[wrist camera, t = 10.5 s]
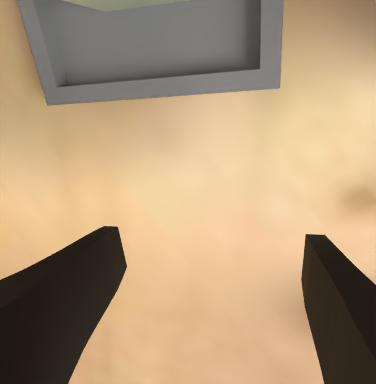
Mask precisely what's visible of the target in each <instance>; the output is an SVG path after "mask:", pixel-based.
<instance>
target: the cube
mask: <svg viewBox="0 0 376 384" xmlns="http://www.w3.org/2000/svg"><path fill="white" fill-rule="evenodd" d="M63 1H67V2H70V3H74V4H77V5H81V6H85V7H88V8H92V9H95V10H99V11H103V12H110V11H117V10H124V9H131V8H138V7H145V6H152V5H160V4H167V3H174V2H181V1H188V0H63Z"/></svg>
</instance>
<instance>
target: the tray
mask: <svg viewBox="0 0 376 384" xmlns="http://www.w3.org/2000/svg"><path fill="white" fill-rule="evenodd" d="M17 3H18V6H19V9H20V13H21V16H22V20H23V23H24V27H25V30H26V33H27V37H28V40H29V44H30V47H31V51H32V54H33V57H34V61H35V64H36V68H37V71H38V75H39V78H40V81H41V85H42V88H43V92H44V95H45V99H46V102H47V105H61V104H74V103H88V102H102V101H115V100H129V99H142V98H156V97H169V96H183V95H196V94H210V93H223V92H237V91H250V90H264V89H277V88H280V73H281V49H282V25H283V0H188V1H181V2H174V3H167V4H160V5H152V6H145V7H138V8H131V9H124V10H117V11H110V12H103V11H99V10H95V9H92V8H88V7H85V6H81V5H77V4H74V3H70V2H67V1H63V0H17Z"/></svg>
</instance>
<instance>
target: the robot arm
mask: <svg viewBox="0 0 376 384" xmlns="http://www.w3.org/2000/svg"><path fill="white" fill-rule="evenodd" d="M126 268H127V264H126V260H125V256H124V251H123V247H122V243H121V238H120V234H119V230H118V227H112V226H104V227H102V228H99V229H97V230H95V231H93V232H92V233H90V234H88V235H86V236H84V237H83V238H81V239H79V240H77V241H76V242H74V243H72V244H70V245H69V246H67V247H65V248H63V249H62V250H60V251H58V252H56V253H54V254H52V255H51V256H49V257H47V258H45V259H43V260H41V261H39V262H37V263H35V264H34V265H32V266H30V267H28V268H26V269H24V270H21V271H19V272H17V273H15V274H13V275H10V276H8V277H6V278H4V279H1V280H0V384H68V383H69V380H70V378H71V376H72V373H73V371H74V369H75V367H76V365H77V363H78V360H79V358H80V356H81V354H82V352H83V350H84V348H85V346H86V344H87V342H88V340H89V338H90V337H91V335H92V333H93V331H94V330H95V328H96V326H97V324H98V323H99V321H100V319H101V318H102V316H103V314H104V312H105V311H106V309H107V307H108V306H109V304H110V302H111V300H112V299H113V297H114V295H115V293H116V291H117V290H118V288H119V285H120V283H121V281H122V278H123V276H124V273H125V270H126ZM301 280H302V288H303V296H304V303H305V309H306V313H307V317H308V321H309V325H310V328H311V332H312V336H313V340H314V344H315V348H316V352H317V355H318V359H319V363H320V367H321V371H322V375H323V380H324V384H376V285H375V284H374V283H373V282H372V281H371V280H370V279H369V278H368V277H366V276H365V275H364V274H363V273H362V272H361V271H360V270H359V269H358V268H357V267H356V266H355V265H354V264H353V263H352V262H351V261H350V260H349V259H348V258H347V257H346V256H345V255H344V254H343V253H342V252H341V251H340V250H339V249H338V248H337V247H336V246H335V245H334V244H333V243H332V242H331V241H330V240H329V239H328V238H327V237H326V236H325V235H312V234H306V238H305V248H304V259H303V269H302V279H301Z"/></svg>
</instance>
